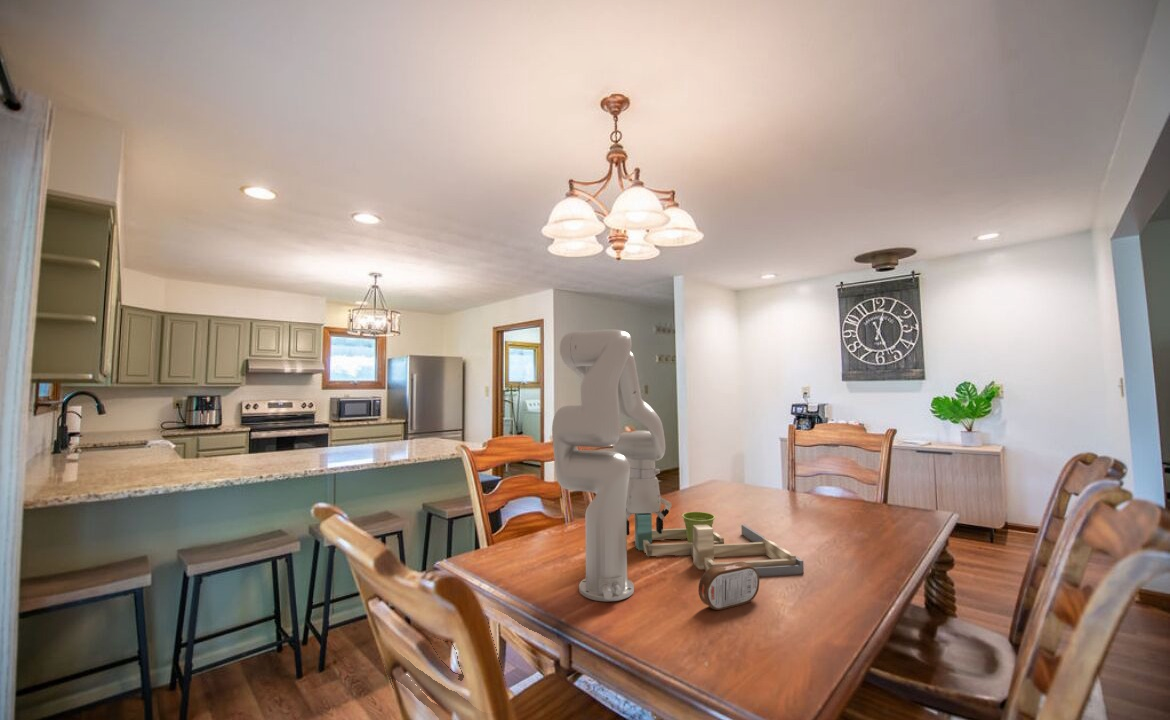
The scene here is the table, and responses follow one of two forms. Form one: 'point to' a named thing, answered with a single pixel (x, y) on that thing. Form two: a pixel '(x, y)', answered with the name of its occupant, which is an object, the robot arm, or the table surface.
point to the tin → (728, 585)
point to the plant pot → (696, 521)
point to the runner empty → (735, 550)
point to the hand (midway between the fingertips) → (643, 533)
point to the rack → (771, 569)
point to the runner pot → (646, 536)
